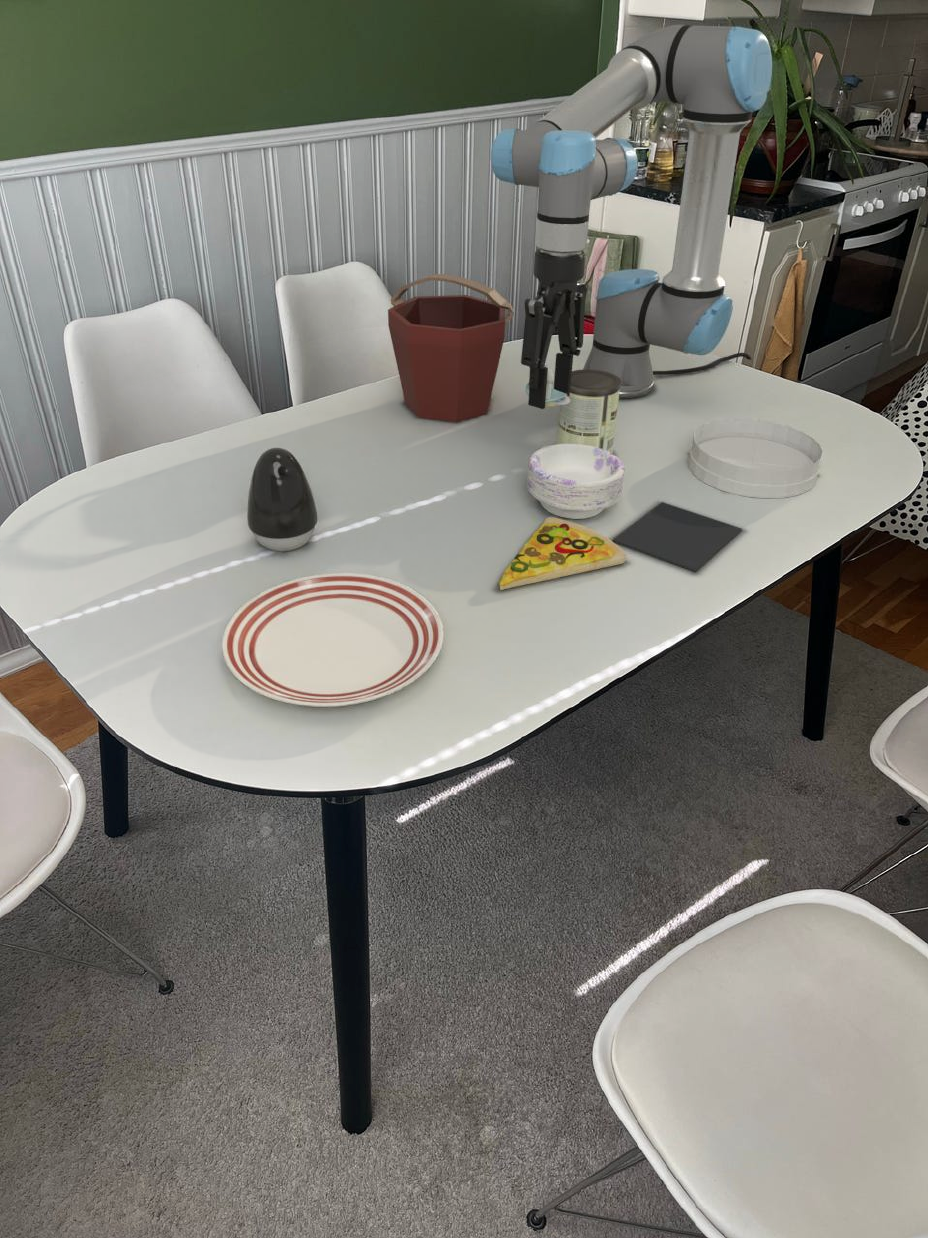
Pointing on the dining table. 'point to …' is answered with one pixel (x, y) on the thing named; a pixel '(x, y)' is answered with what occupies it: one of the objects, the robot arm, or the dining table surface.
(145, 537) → the dining table surface
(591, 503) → the paper bowls
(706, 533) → the placemat
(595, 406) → the coffee can
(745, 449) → the dish
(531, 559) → the pizza slice
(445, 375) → the bucket
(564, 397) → the pacifier
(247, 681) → the dinner plate
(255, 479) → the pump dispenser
